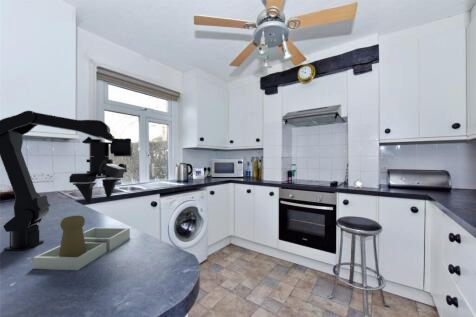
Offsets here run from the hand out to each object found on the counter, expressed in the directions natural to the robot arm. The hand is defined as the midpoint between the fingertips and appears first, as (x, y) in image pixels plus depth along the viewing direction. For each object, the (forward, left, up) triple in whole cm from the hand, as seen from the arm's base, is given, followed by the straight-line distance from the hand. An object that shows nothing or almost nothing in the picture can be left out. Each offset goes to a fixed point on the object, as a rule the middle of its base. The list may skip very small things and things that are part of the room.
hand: (99, 200), depth 72 cm
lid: (+5, -16, -13) cm, 21 cm away
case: (+5, -5, -13) cm, 15 cm away
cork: (+5, -16, -12) cm, 21 cm away
